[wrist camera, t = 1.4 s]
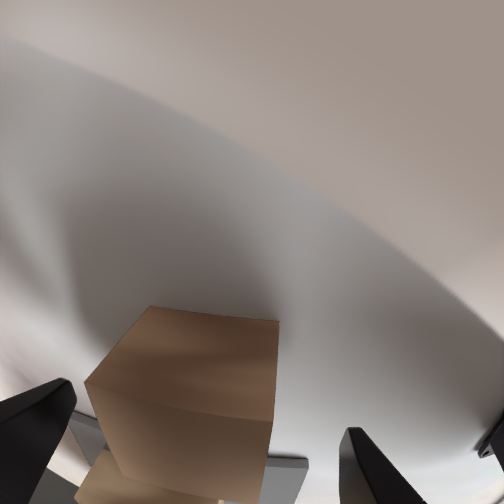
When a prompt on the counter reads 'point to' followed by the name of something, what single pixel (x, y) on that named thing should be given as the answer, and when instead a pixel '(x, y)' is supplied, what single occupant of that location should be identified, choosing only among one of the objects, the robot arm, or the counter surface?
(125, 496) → the tower base
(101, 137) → the counter surface
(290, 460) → the slate board
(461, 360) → the counter surface
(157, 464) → the walnut block
